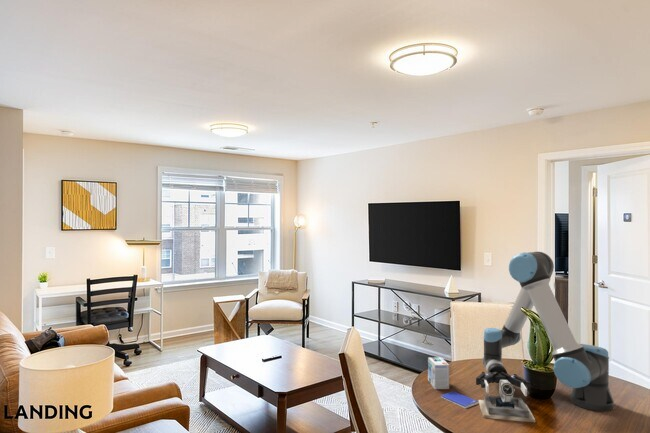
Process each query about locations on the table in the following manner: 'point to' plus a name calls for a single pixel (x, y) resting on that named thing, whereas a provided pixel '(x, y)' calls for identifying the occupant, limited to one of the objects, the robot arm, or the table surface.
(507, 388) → the watch
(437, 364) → the light bulb box
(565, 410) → the table surface
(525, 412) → the fitting base
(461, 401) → the hard drive
